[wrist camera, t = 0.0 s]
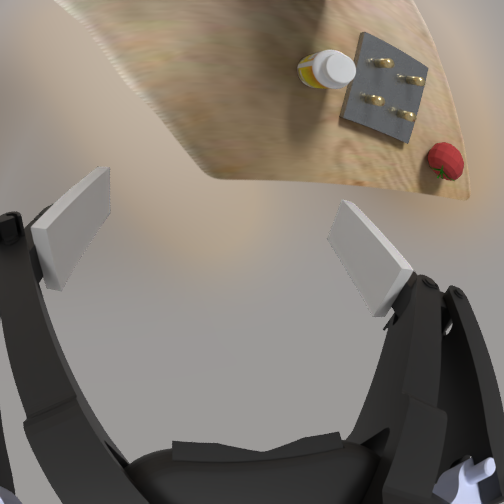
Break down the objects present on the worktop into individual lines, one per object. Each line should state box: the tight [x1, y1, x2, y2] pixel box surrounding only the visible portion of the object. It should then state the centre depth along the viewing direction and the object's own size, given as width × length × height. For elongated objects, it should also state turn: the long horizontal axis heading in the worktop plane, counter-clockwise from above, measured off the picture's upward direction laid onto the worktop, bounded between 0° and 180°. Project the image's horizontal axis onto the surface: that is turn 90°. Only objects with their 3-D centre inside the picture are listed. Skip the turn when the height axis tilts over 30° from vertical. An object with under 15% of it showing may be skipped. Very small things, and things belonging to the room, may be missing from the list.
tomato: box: [428, 142, 464, 181], centre depth 39 cm, size 8×8×8 cm
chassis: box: [339, 32, 428, 144], centre depth 33 cm, size 16×14×5 cm
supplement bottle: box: [297, 50, 356, 89], centre depth 29 cm, size 6×6×10 cm
